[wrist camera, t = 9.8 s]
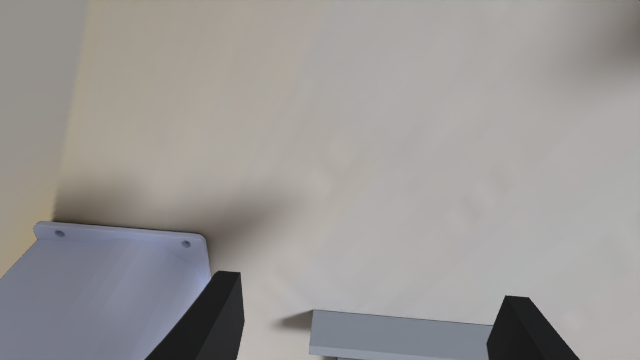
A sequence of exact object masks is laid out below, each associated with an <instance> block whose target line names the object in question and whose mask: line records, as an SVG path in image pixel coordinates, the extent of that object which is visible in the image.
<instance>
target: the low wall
mask: <svg viewBox="0 0 640 360" xmlns="http://www.w3.org/2000/svg"><path fill="white" fill-rule="evenodd" d="M492 328H493V326H488V325H477V324H465V323H454V322H443V321H431V320H420V319H409V318H398V317H386V316H375V315H364V314H353V313H341V312H330V311H319V310H313V318H312V327H311V335H310V344H309V354H310V355H321V356H332V357H342V358H353V359H364V360H489V358H488V352H487V345H486V343H487V340H488V338H489V335H490V333H491V330H492Z"/></svg>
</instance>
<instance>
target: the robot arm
mask: <svg viewBox="0 0 640 360" xmlns="http://www.w3.org/2000/svg"><path fill="white" fill-rule="evenodd" d="M33 229H34V233H35V235H36V237H37V241H36V242H35V243H34V244H33V245H32V246H31V247H30V248H29V249H28V250H27V251H26V252H25V254H23V255H22V257H21V258H20V259H19V260H18V261H17V262H16V263H15V264H14V265H13V266H12V268H10V269H9V271H7V273H6V274H5V275H4V276H3V277H2V278H1V279H0V360H236V359H237V355H238V351H239V346H240V341H241V337H242V332H243V327H244V322H245V320H244V309H243V297H242V286H241V274H240V272H228V271H218V272H216V273H215V274H214V275H213V277H212V278H211V273H210V266H209V259H208V252H207V245H206V240H205V238H204V237H203V236H201V235H199V234H193V233H181V232H169V231H157V230H145V229H132V228H120V227H108V226H96V225H84V224H71V223H59V222H47V221H40V222H38V223H37V224H36V225H35V226H34V228H33ZM185 241H188V242H189V243H187V242H185ZM486 345H487V352H488V358H489V360H580V359H579V358H578V357H577V356H576V355H575V354H574V352H573V351H572V350H571V349H570V348H569V346H568V345H567V344H566V343H565V341H564V340H563V339H562V338H561V337H560V335H559V334H558V333H557V332H556V330H555V329H554V328H553V327H552V326H551V324H550V323H549V322H548V321H547V319H546V318H545V317H544V316H543V314H542V313H541V312H540V311H539V310H538V308H537V307H536V306H535V305H534V303H533V302H532V301H531V300H530V298H529V297H518V296H506V295H505V298H504V300H503V303H502V305H501V308H500V310H499V313H498V315H497V318H496V320H495V323H494V325H493V328H492V330H491V333H490V335H489V338H488V340H487V343H486Z"/></svg>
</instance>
